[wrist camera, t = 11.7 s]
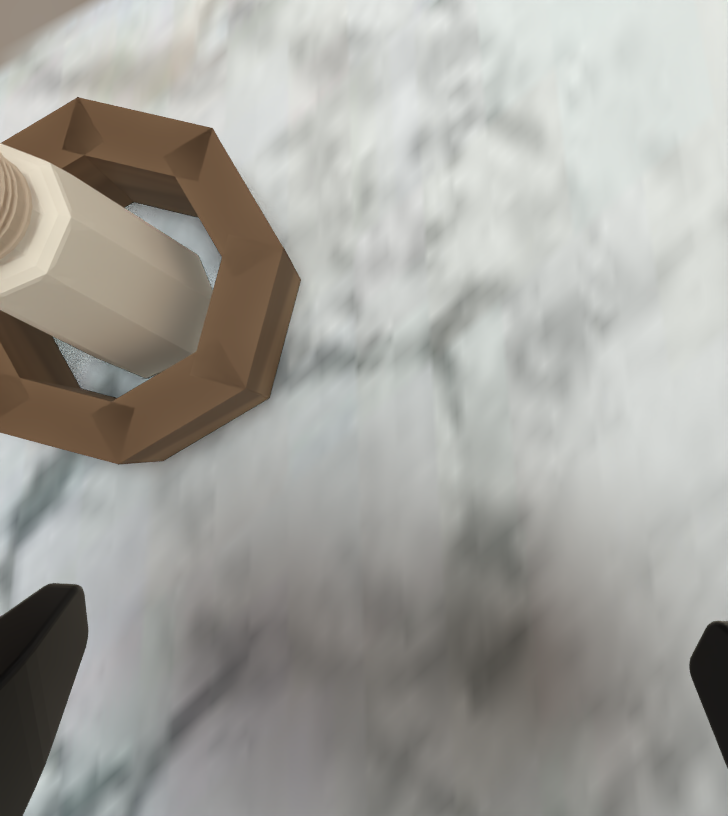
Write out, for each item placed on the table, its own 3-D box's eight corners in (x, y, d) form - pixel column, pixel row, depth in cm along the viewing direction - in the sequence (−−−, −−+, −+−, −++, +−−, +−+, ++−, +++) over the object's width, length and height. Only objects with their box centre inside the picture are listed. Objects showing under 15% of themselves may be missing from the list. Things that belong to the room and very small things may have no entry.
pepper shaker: (147, 408, 21) (-119, 370, 10) (49, 309, 21) (-307, 167, 10) (249, 305, 21) (97, 156, 10) (150, 208, 21) (-98, -37, 10)
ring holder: (246, 483, 21) (218, 491, 17) (-32, 409, 21) (-115, 402, 18) (323, 198, 21) (310, 150, 18) (49, 134, 22) (-16, 75, 18)
